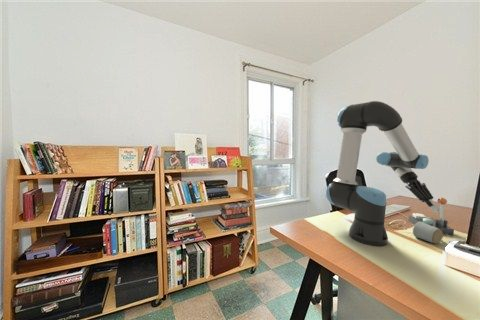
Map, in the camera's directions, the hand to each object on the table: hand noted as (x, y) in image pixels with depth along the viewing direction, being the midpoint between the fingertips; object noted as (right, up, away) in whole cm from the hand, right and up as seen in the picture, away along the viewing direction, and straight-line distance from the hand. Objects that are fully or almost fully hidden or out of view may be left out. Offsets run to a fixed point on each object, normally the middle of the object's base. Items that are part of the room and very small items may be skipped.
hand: (437, 211), depth 102 cm
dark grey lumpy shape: (-1, -9, +4) cm, 10 cm away
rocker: (-2, -5, +8) cm, 10 cm away
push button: (-5, -6, 0) cm, 8 cm away
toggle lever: (0, -5, -2) cm, 6 cm away
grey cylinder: (-15, -11, -10) cm, 21 cm away
